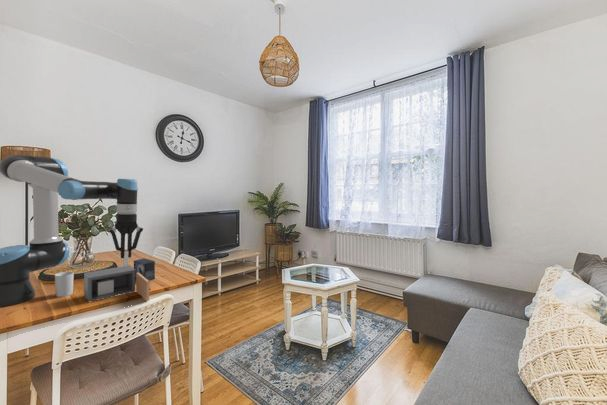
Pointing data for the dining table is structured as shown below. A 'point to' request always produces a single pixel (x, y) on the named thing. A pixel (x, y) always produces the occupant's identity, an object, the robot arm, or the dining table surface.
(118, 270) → the grey cabinet
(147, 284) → the side door
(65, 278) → the drinking glass
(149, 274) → the small box
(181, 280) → the dining table surface
